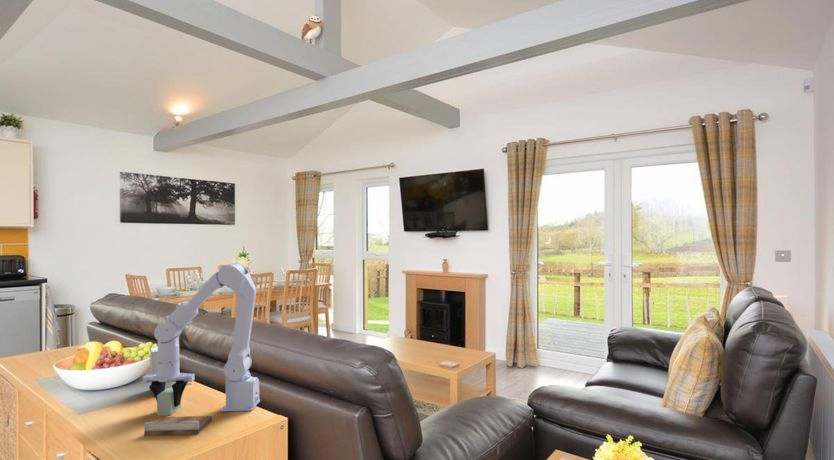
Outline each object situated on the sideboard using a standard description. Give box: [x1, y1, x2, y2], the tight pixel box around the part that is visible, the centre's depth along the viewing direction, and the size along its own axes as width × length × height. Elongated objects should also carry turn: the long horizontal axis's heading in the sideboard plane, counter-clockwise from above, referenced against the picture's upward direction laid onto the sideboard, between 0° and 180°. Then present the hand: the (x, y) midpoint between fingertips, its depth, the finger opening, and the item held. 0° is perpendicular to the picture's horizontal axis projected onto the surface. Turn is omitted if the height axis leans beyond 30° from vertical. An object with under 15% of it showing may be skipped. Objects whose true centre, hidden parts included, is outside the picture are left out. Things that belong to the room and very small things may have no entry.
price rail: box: [143, 421, 199, 431], centre depth 118 cm, size 14×1×2 cm, turn 92°
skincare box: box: [149, 346, 173, 396], centre depth 152 cm, size 8×6×15 cm
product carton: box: [156, 388, 182, 416], centre depth 134 cm, size 4×6×6 cm
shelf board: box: [143, 415, 213, 437], centre depth 123 cm, size 14×9×1 cm, turn 92°
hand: (169, 405), depth 134 cm, fingers closed on product carton, 4 cm apart
